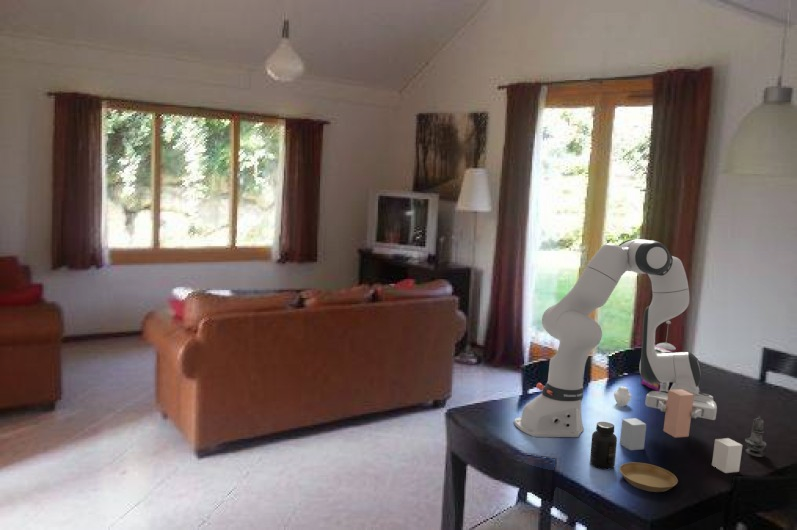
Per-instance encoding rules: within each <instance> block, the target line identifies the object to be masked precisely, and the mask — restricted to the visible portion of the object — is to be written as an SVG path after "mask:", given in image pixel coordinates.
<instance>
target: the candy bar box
mask: <svg viewBox="0 0 797 530" xmlns="http://www.w3.org/2000/svg"><path fill="white" fill-rule="evenodd" d="M655 352H656V353H674V351H672V350H666V349H663V348H660V347H657V346H656V345H655ZM640 380H641V381H640V383H641V385H643V386H645V387H647V388H649V389H651V390H652V391H659V392H664V393H668V390H670V382H662V383H654V384H650V383H649V382H647V381H646V380H644V379H643V378H642V377H641V379H640Z"/></svg>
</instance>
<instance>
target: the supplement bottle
mask: <svg viewBox="0 0 797 530" xmlns="http://www.w3.org/2000/svg"><path fill="white" fill-rule="evenodd" d="M595 427H596V428H595V431H594V432H593V433H592V435H591V446H590V456H589V457H590V458H589V462H590V464H591V465H592V466H593V467H595V468H597V469H599V470H600V469H601V470H610V469H613V468H614V467H615V466H616V465H615V464H616V456H617V455H616V454H617V443H618V438H617V436H616V435H617V434H615V425H614V424H613V423H610V422H608V421H599V422H597V423H596V426H595Z"/></svg>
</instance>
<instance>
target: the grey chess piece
mask: <svg viewBox="0 0 797 530" xmlns="http://www.w3.org/2000/svg"><path fill="white" fill-rule="evenodd" d="M764 424H765V421H764V420H763V419H762V418H761V416H760V415H759V416H758V417H757V418H754V419H753V422H752V427H751V428H750V430H751V433H750V437H748V438H745V439H744V441H745V445H746V447H747V448H746V449H744V452H745V453H746V454H747V455H749V456H752V457H753V456H754V457H761V458H762V457H764V456H765V453H764V452H762V451H764V450H765V449H766V446H767V443H766V442H765V440H764V441H763V435H764V433H765V430H764Z"/></svg>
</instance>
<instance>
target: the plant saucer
mask: <svg viewBox="0 0 797 530" xmlns="http://www.w3.org/2000/svg"><path fill="white" fill-rule="evenodd" d="M619 472H620V473H621V475H622V477H623V479H625V480H626V482H627V483H629V484H630V485H631V486H633V487H634V488H637V489H639V490H642V491H645V492H646V491H647V492H652V493H663V492H667V491H669V490H670V489H673V487H675V486H676V485H677V484H678V482H679V480H678V478H677V476H676V475H675V473H672V472H671V471H669V470H668V469H665V468H663V467H660V466H657V465H654V464H650V463H645V462H626V463H623V464H621V465H620V467H619Z"/></svg>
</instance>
